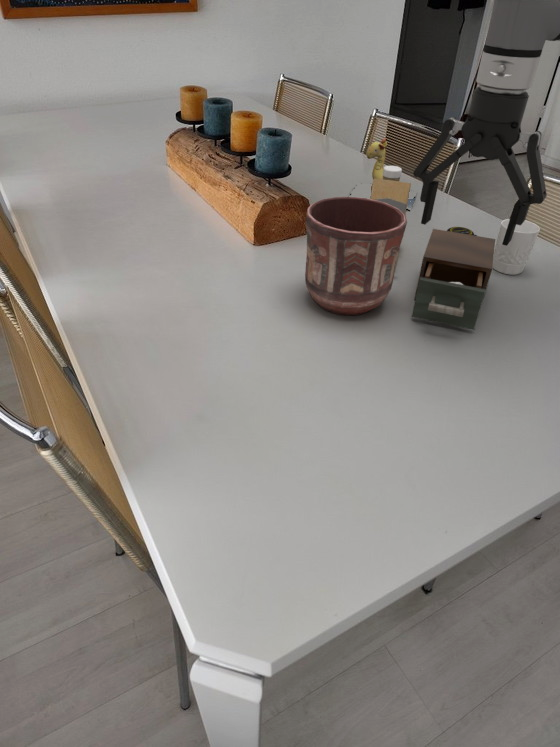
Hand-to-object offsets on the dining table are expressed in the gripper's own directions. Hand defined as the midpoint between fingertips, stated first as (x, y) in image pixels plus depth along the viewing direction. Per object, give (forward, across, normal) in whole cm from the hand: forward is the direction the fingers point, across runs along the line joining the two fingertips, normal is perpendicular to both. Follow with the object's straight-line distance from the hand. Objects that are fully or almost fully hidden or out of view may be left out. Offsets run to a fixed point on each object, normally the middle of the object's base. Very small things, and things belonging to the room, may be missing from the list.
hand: (464, 232), depth 89 cm
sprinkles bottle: (+19, -30, +42) cm, 55 cm away
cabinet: (+19, -3, +15) cm, 25 cm away
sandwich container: (+19, -22, +21) cm, 36 cm away
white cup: (+19, +4, +34) cm, 39 cm away
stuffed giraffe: (+19, -38, +58) cm, 72 cm away
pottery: (+19, -19, -2) cm, 27 cm away
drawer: (+18, -1, +5) cm, 19 cm away
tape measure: (+19, -8, +38) cm, 43 cm away
